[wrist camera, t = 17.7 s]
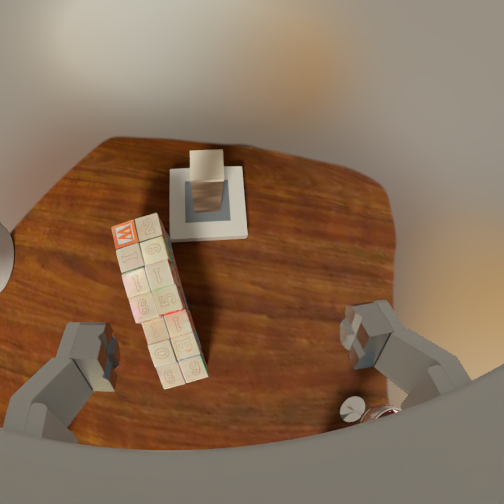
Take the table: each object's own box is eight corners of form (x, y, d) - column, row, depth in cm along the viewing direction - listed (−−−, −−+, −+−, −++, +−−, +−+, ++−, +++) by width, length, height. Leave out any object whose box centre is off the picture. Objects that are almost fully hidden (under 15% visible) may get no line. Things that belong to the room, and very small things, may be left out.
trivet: (171, 242, 48) (169, 239, 46) (171, 174, 50) (169, 168, 48) (246, 238, 49) (247, 235, 47) (240, 171, 52) (242, 165, 50)
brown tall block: (194, 213, 47) (190, 180, 35) (193, 189, 48) (189, 150, 36) (220, 211, 48) (224, 178, 36) (219, 187, 48) (222, 149, 37)
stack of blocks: (209, 366, 45) (209, 383, 33) (171, 376, 43) (158, 396, 32) (169, 236, 48) (157, 210, 36) (132, 247, 47) (110, 225, 35)
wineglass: (362, 384, 47) (401, 398, 35) (373, 414, 46) (411, 432, 34) (329, 403, 46) (362, 424, 34) (342, 433, 45) (374, 458, 33)
